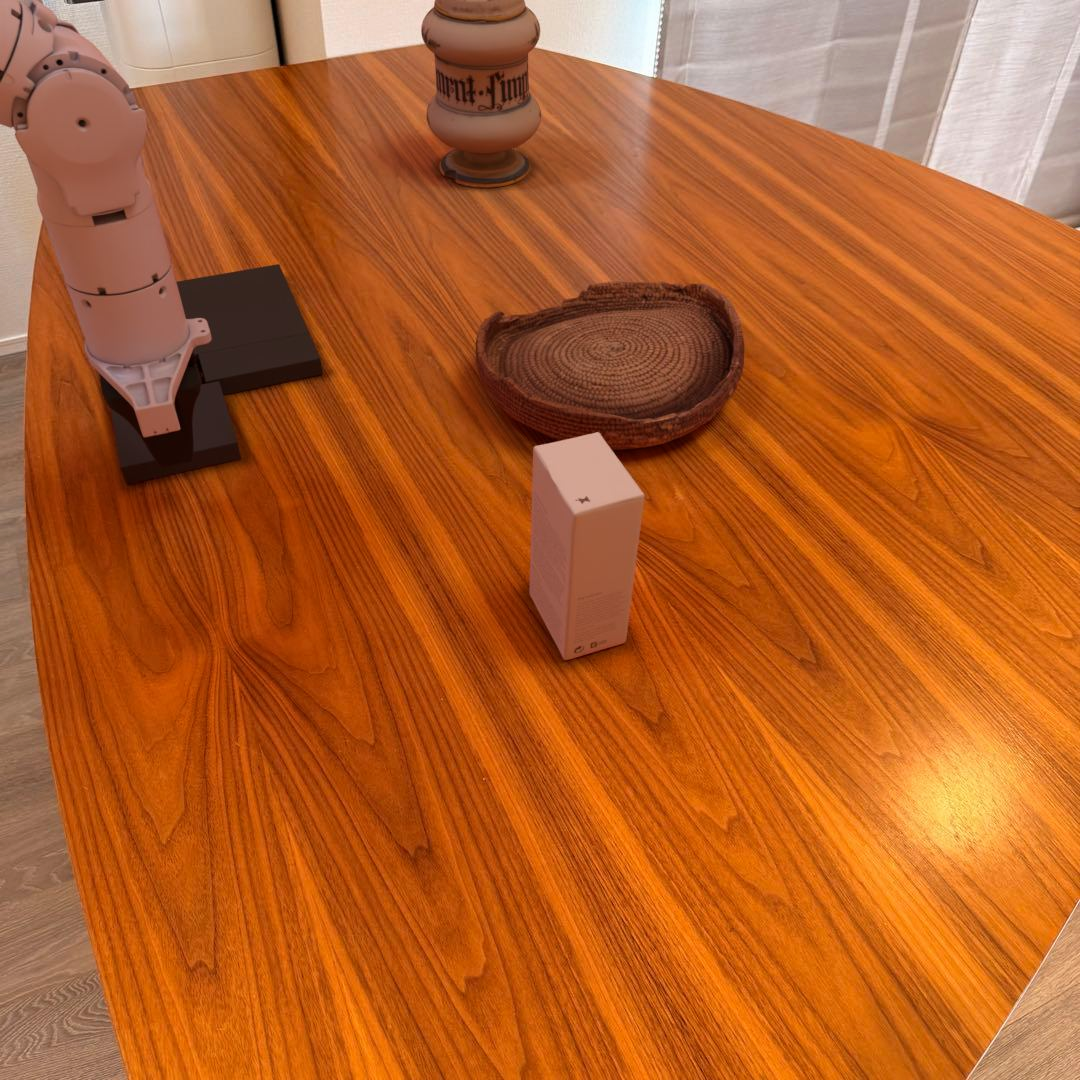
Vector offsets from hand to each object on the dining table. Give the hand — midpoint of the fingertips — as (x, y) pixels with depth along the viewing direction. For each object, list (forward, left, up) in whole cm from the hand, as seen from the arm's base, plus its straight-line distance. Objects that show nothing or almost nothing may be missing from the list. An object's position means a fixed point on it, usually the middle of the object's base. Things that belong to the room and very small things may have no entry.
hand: (175, 458), depth 64 cm
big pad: (+4, +20, -4) cm, 21 cm away
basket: (+34, +3, -4) cm, 34 cm away
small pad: (0, +10, -4) cm, 10 cm away
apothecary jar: (+38, +44, -4) cm, 58 cm away
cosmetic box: (+21, -19, -4) cm, 28 cm away
